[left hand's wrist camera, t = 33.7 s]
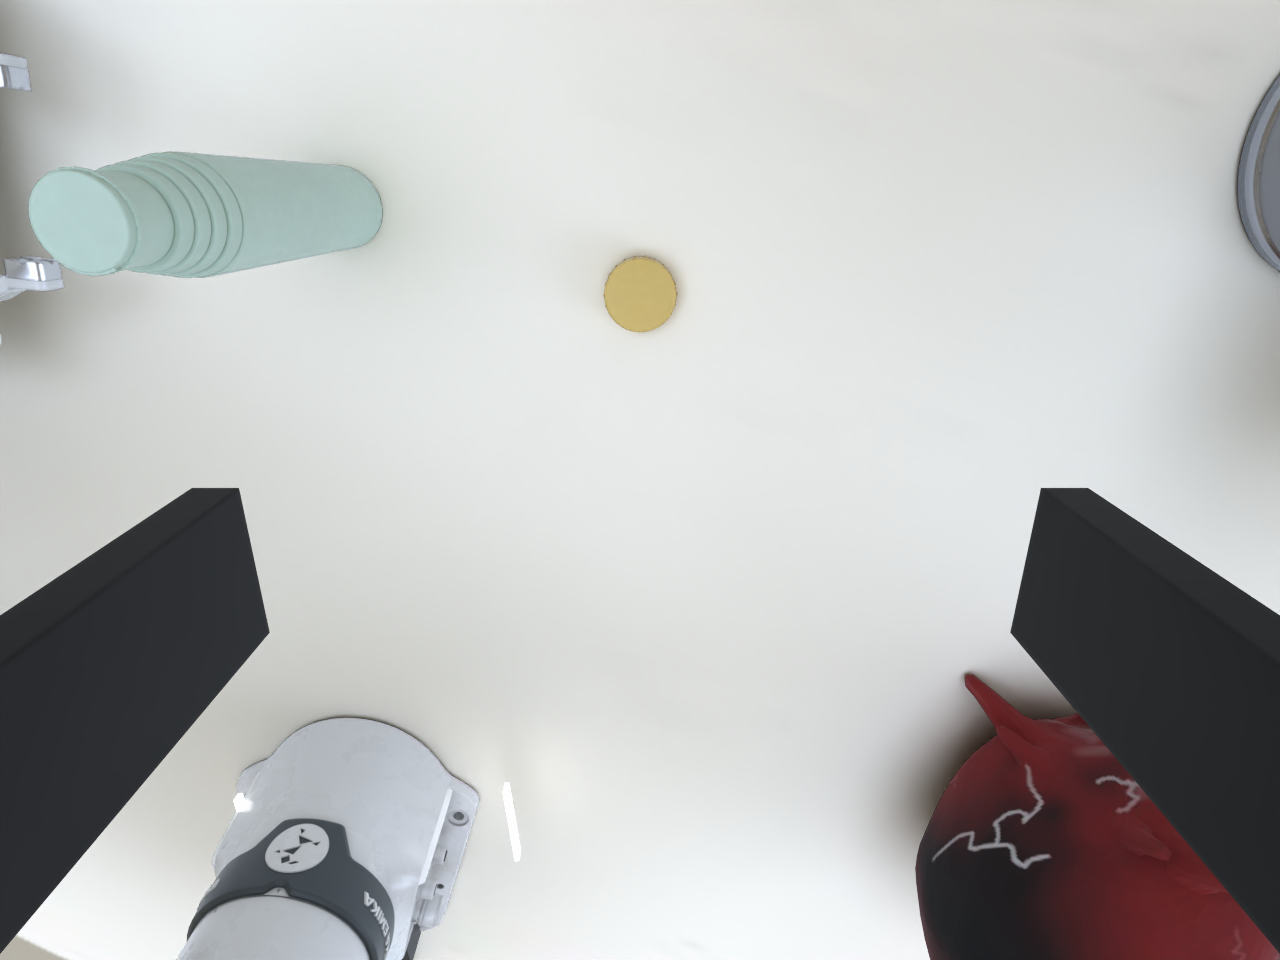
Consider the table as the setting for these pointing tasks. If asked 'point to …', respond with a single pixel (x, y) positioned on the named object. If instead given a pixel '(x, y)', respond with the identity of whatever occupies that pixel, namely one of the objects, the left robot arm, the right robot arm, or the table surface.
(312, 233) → the bottle
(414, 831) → the right robot arm
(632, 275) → the cap
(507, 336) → the table surface
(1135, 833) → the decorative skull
